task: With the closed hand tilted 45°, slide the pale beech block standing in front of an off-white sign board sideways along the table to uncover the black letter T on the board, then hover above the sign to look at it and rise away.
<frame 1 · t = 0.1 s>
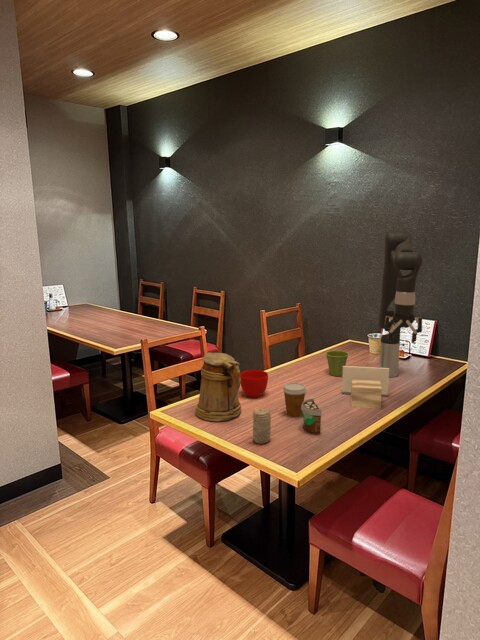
hand: (401, 341, 187), 29 cm above the table, tool pointing down, fingers open, 8 cm apart
letter sign: (364, 394, 209), on the table
food container: (309, 429, 175), on the table
disposable coffee cup: (294, 414, 189), on the table
beech block: (365, 403, 199), on the table
plant pot: (336, 374, 237), on the table
beige textured cylinder: (261, 441, 166), on the table
tankard: (222, 415, 190), on the table
ceramic cup: (255, 393, 213), on the table
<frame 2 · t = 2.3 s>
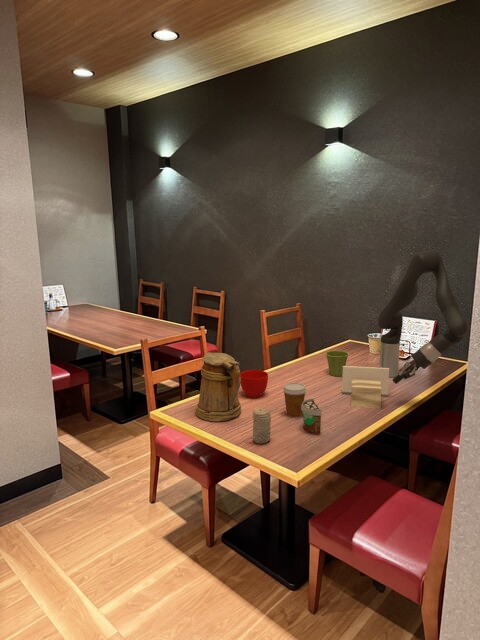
hand: (394, 381, 194), 10 cm above the table, tool tilted 45°, fingers closed
nothing on the table moved.
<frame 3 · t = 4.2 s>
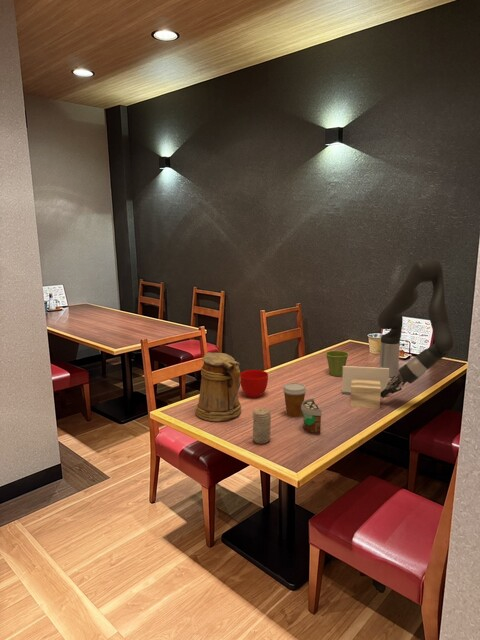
hand: (381, 395, 197), 4 cm above the table, tool tilted 45°, fingers closed
beech block: (365, 403, 199), on the table, touching gripper
everything else where it was.
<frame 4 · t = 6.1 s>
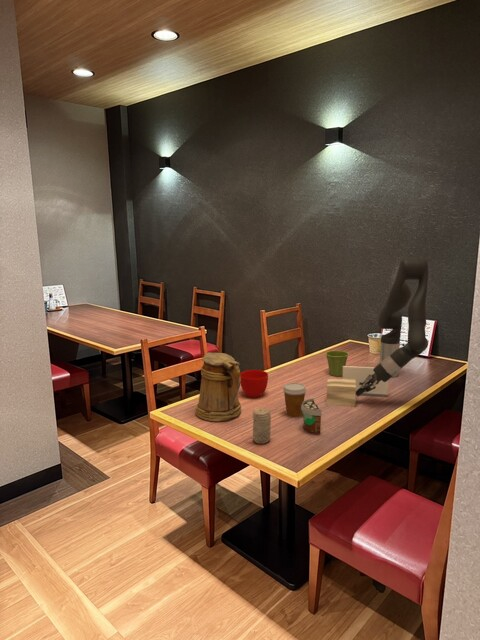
hand: (356, 394, 199), 4 cm above the table, tool tilted 45°, fingers closed
beech block: (340, 401, 201), on the table, touching gripper
everything else where it was.
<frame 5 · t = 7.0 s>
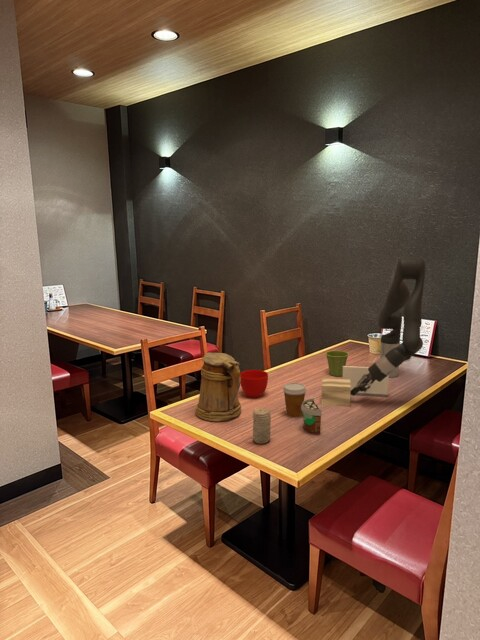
hand: (351, 393, 200), 4 cm above the table, tool tilted 45°, fingers closed
beech block: (335, 401, 202), on the table
everything else where it was.
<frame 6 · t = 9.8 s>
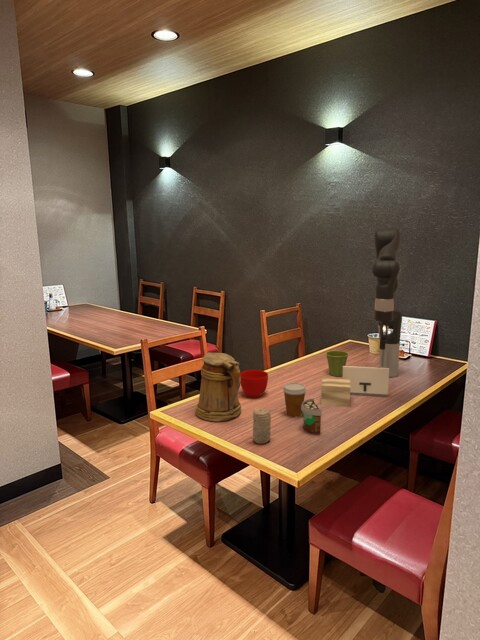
hand: (382, 349, 194), 24 cm above the table, tool pointing down, fingers closed
nothing on the table moved.
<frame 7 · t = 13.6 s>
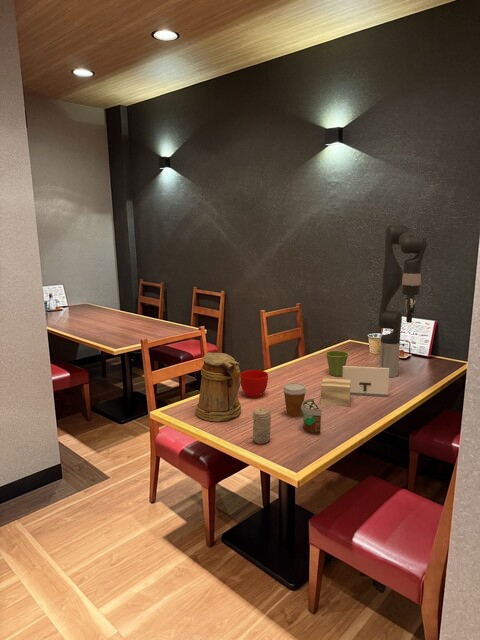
hand: (408, 322, 204), 33 cm above the table, tool pointing down, fingers closed
nothing on the table moved.
at the end: beech block inside the target area (0.4 cm from its centre), on the table; beech block tilted 0°; beech block moved 12.7 cm from its start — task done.
